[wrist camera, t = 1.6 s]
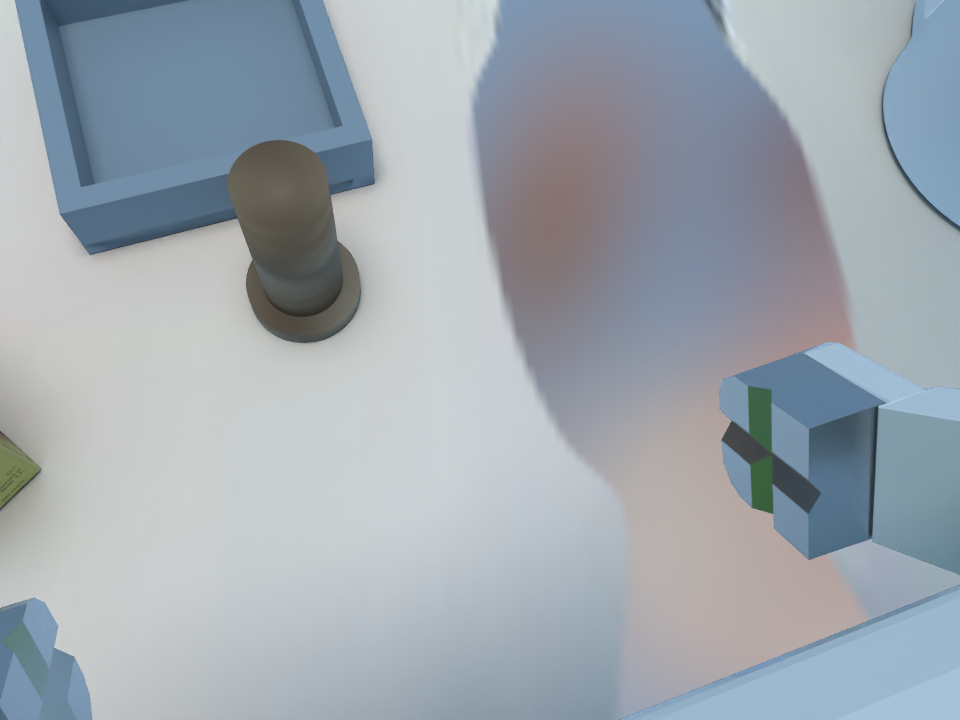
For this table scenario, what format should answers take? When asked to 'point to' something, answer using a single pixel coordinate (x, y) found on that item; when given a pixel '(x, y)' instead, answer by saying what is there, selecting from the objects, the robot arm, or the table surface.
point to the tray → (182, 105)
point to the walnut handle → (292, 242)
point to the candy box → (13, 469)
